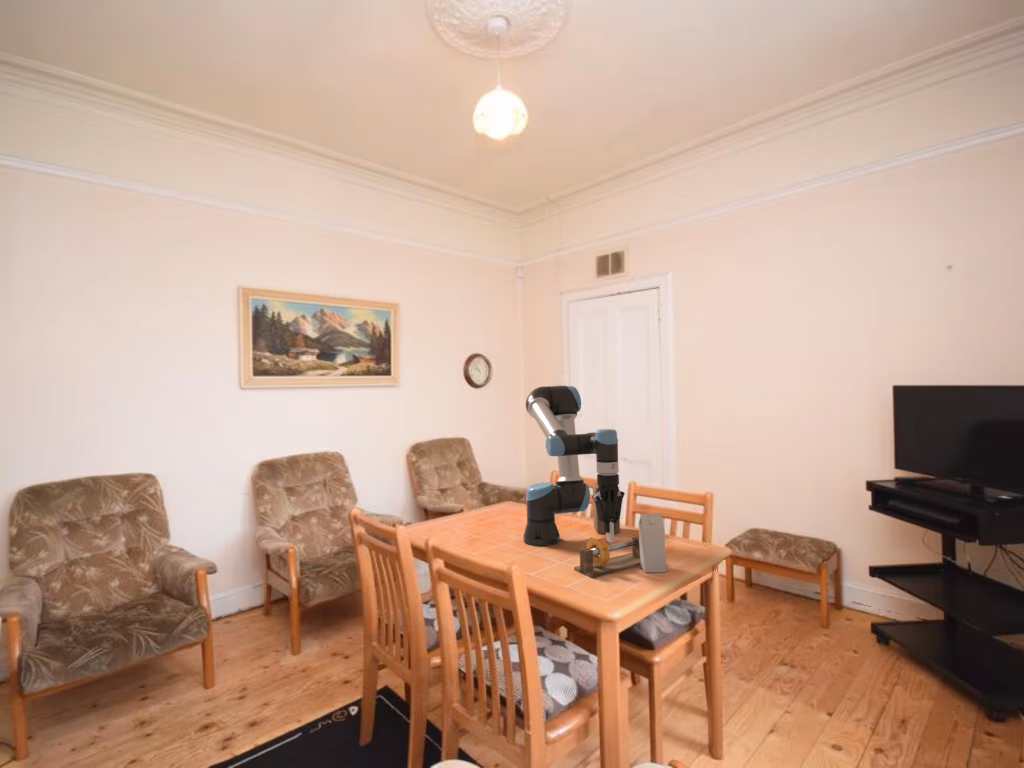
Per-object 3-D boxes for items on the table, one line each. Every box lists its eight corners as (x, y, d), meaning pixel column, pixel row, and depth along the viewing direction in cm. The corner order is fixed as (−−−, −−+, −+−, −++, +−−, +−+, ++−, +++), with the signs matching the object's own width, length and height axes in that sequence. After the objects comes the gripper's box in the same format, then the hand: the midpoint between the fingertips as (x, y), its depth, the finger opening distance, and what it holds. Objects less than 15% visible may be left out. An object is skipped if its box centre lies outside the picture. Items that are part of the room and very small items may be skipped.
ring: (587, 561, 179) (586, 535, 180) (592, 560, 181) (591, 534, 181) (604, 569, 171) (603, 541, 172) (610, 567, 173) (609, 540, 173)
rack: (574, 570, 177) (573, 546, 177) (632, 555, 191) (631, 533, 191) (592, 578, 168) (592, 554, 168) (652, 562, 182) (651, 539, 182)
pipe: (583, 556, 175) (583, 549, 175) (635, 544, 187) (635, 537, 187) (588, 558, 172) (588, 551, 172) (641, 545, 184) (640, 538, 185)
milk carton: (640, 566, 179) (638, 511, 179) (660, 565, 179) (658, 510, 179) (644, 573, 172) (642, 516, 172) (666, 572, 171) (664, 515, 172)
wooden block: (620, 533, 220) (618, 486, 220) (597, 534, 220) (595, 487, 220) (616, 527, 230) (614, 482, 230) (593, 528, 230) (592, 483, 230)
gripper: (599, 477, 173) (602, 547, 172) (629, 472, 179) (631, 540, 179) (586, 474, 179) (588, 541, 179) (615, 470, 186) (617, 535, 185)
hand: (610, 541), depth 179 cm, fingers closed
